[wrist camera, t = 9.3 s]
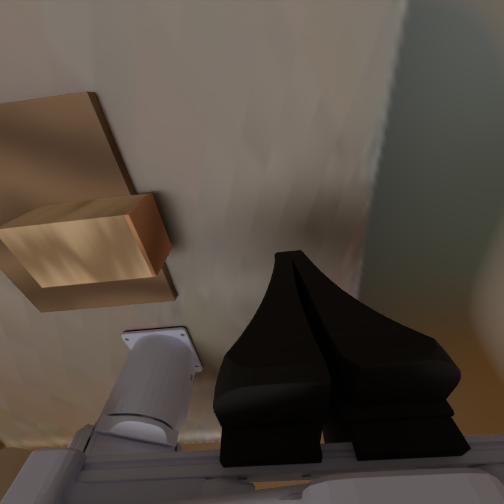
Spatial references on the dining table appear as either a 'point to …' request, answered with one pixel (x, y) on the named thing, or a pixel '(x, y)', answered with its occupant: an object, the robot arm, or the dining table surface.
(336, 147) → the dining table surface
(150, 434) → the robot arm
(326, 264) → the dining table surface
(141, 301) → the walnut board
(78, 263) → the oak block
